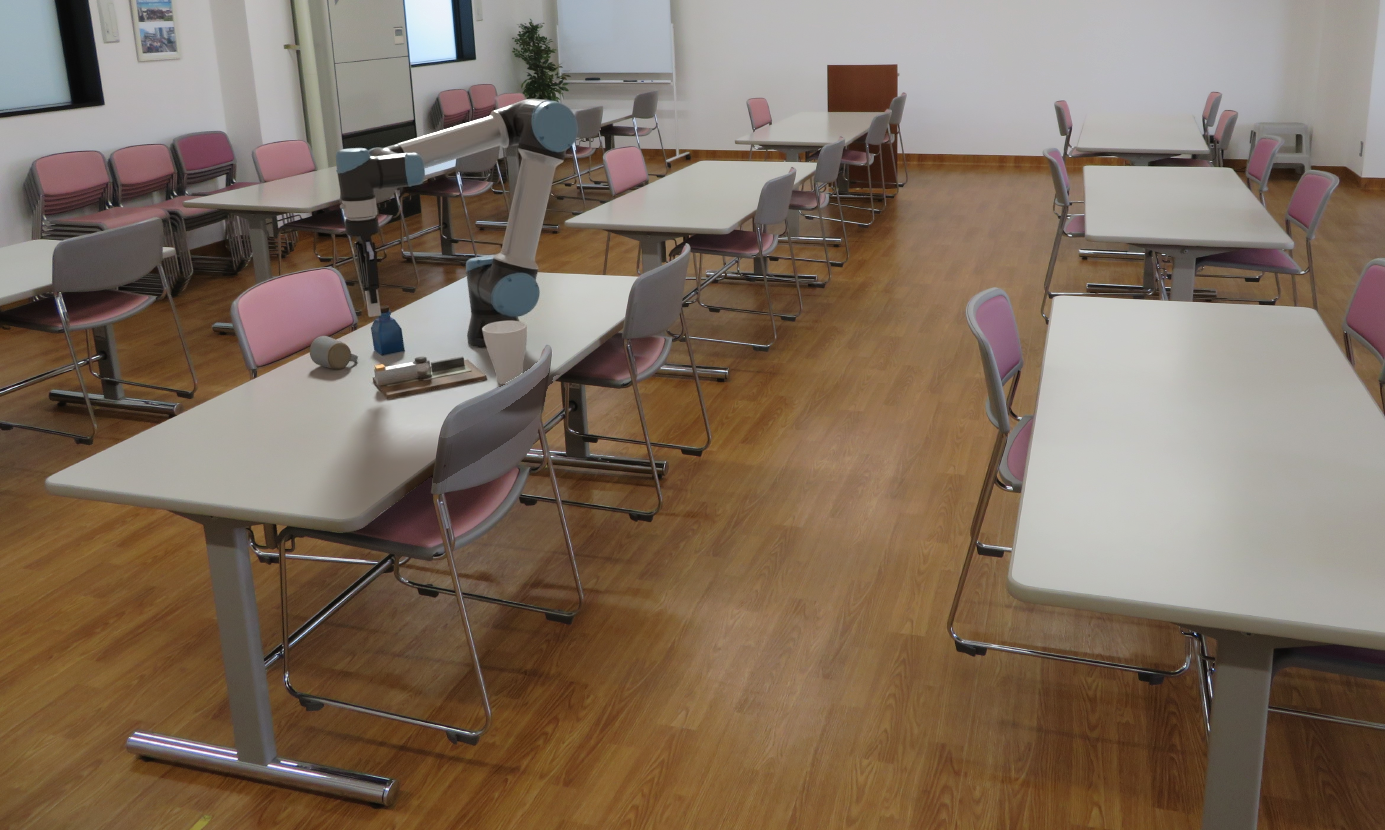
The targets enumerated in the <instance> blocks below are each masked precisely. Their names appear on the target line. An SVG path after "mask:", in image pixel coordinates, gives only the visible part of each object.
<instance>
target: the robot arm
mask: <svg viewBox="0 0 1385 830" xmlns="http://www.w3.org/2000/svg"><path fill="white" fill-rule="evenodd" d="M578 133H579V126H578V121H577V118H576V116H575V114H574V113H573V111H572V110H571V109H570V108H569V107H568V106H567V105H565V104H563V103H561V102H558V101H556V100H551V99H540V98H528V99H527V98H526V99H523V100H520V101H518V102H515V103H512V104H509V105H506V106H503V107H500V108H498V109H495V110H491V112H490V114H489V116H486V117H483V118H478V119H475V120H471V121H469V122H465V123H461V124H458V125H455V126H453V127H452V126H451V127H448V128H445V129H441V130H439V131H436V132H432V133H429V134H424V135H422V136H418V137H415V138H412V139H409V140H404V141H402V142H398V143H396V144H392V145H388V146H385V147H373V148H370V149H367V148H363V147H355V148H354V147H353V148H352V147H351V148H350V147H349V148H343V149H339V150H337V152H336V154H335V164H336V174H337V179H338V186H339V190H340V198H341V203H342V204H340V205H339V208H340V209H341V210H342V212H343V216H344V218H345V219H344V227H345V228H344V229H345V234H346V235H347V236H349V237H354V238H355V240H356V241H354V243H353V244H354V245H353V247H354V249H355V253H356V259H357V263H358V269H359V275H360V278H361V284H362V285H363V288H362V289H363V291H364V293H365V299H366V300H365V302H366V309H367V315H368V317H369V318H371V317H372V318H373V317H378V316H380V315H381V310H380V306H381V304H380V297H379V290H378V289H380V280H379V269H378V268H379V267H378V252H377V251H378V250H376V244H375V241H373V238H372V236H374V235H377V234H379V233H380V225H379V224H380V223H379V218H378V217H377V215H378V208H377V207H378V205H377V199H376V196H375V195H376V193H375V190H382V189H392V188H403V187H409V188H410V187H412V186H418V185H421V184H423V183H424V181H425V177H426V171H425V169H428V168H430V167H434V166H437V165H441V164H445V163H447V162H450V161H451V162H452V161H453V160H456V159H460V158H464V157H467V156H470V155H474V154H477V153H480V152H484V151H485V150H489V149H492V148H496V147H501V148H502V149H507V148H510V147H513V146H518V148H517V151H518V153H519V154H520V156H521V162H520V165H519V171H518V176H517V179H516V184H515V188H514V191H513V192H514V193H513V197H512V202H511V205H510V210H509V214H508V219H507V224H506V229H505V234H504V238H503V241H502V244H501V245H502V246H501V250H500V252H499V253H496V254H489V255H483V256H477V257H472V258H469V259H468V260H466V262H465V275H466V282H467V290H468V296H469V298H468V299H469V306H470V319H469V324H468V330H467V335H466V336H467V343H468V345H469V346H471V347H474V348H480V349H487V347H486V344H485V341H484V336H483V331H482V328H483V327H484V326H485V325H487V324H490V323H494V322H499V321H520V319H519V317H523V316H525V315H528V313H530V312H531V311H532V310H533V309H535V307H536V306H537V304H538V302H539V299H540V292H541V291H540V286H539V283H538V282H537V278H538V277H537V276H538V274H539V273H538V272H539V266H538V264H537V263H536V259H535V258H536V255H537V251H538V250H537V249H538V246H539V241H540V237H541V233H542V228H543V224H544V219H545V215H546V211H547V206H548V203H549V198H550V194H551V189H552V186H553V181H554V177H555V173H556V168H557V167H558V166H559V165H560V164H562V163H564V160H565V156H566V152H567V150H568V149H570V148H571V147H572V146H573V145H574V143H576V140H577V137H578Z"/></svg>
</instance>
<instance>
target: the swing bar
mask: <svg viewBox="0 0 1385 830" xmlns="http://www.w3.org/2000/svg"><path fill="white" fill-rule="evenodd" d="M430 366H431V362H430V360H429V359H427V361H425V362H421V363H417V362H415V360H413V361H409V362H404V363H399V364H395V365H394V364H393V365H389V366H385V365H384V364H383V363H382V364H376V365H374V367H373V368H374V369H373V371H374V377H375V379H376V383H377V385H378V386H380V385H385V384H390V383H396V382H401V381H406V380H411V379H417V378H427V377H430V376H431V368H430ZM377 385H376V386H377ZM378 386H377V387H378Z"/></svg>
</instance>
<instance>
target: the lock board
mask: <svg viewBox="0 0 1385 830" xmlns="http://www.w3.org/2000/svg"><path fill="white" fill-rule="evenodd" d="M427 360H428V357H427V356H417V357H415V358H414V361H415V362H417V363H421V362H425V361H427ZM430 368H431V376H430V377H427V378H417V379H411V380H406V381H401V382H396V383H390V384H385V385H380V386H378V385H377V383H376V379H375V376H373V377H372V381H373V383H374V384H375V385H376V387H377V388H378V389H379V390H380V391H381V393H383V395H384V396H385V397H386V398H387V400H388V399H394V398H399V397H405V396H410V395H414V394H419V393H425V392H430V391H436V390H440V389H444V388H450V387H451V388H452V387H456V386H460V385H466V384H470V383H476V382H481V381H486V380H488V376H487V374H485V373H484V372H483V371H482V370H481V369H480V368H479V367H477V365H475V364H474V363H473V362H471V361H470V360H469V359H465V358H464V356H457V357H453V358H446V359H441V360H436V361H435V360H434V361H431V362H430Z"/></svg>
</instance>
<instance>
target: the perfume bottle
mask: <svg viewBox="0 0 1385 830" xmlns="http://www.w3.org/2000/svg"><path fill="white" fill-rule="evenodd" d="M380 310H381V315H380V316H377V317H378V318H375V319H374V320H373V323H372V325H371V327H370V331H371V338H372V345H373V351H375V352H376V353H377V354H378V355H380V356H388V355H392V354H397V353H403V352H406V351H405V343H404V336H403V330H402V327H401V325H400V324H399V323H398V322H397V320H396V318H395V319H394V317H391V314H392V313H391V310H390V305H380Z"/></svg>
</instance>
